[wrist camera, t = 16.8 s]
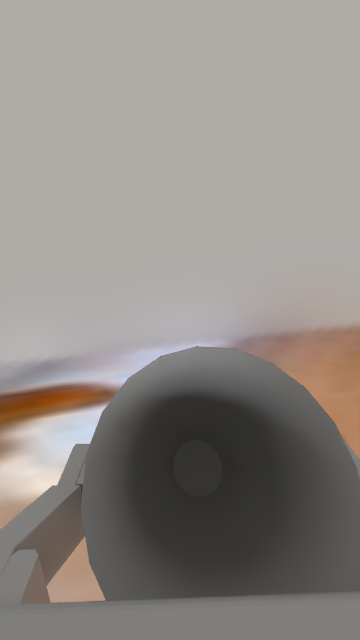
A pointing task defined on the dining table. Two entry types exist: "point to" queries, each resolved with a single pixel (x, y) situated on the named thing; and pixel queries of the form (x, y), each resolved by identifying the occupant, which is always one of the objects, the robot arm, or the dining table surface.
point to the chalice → (219, 484)
